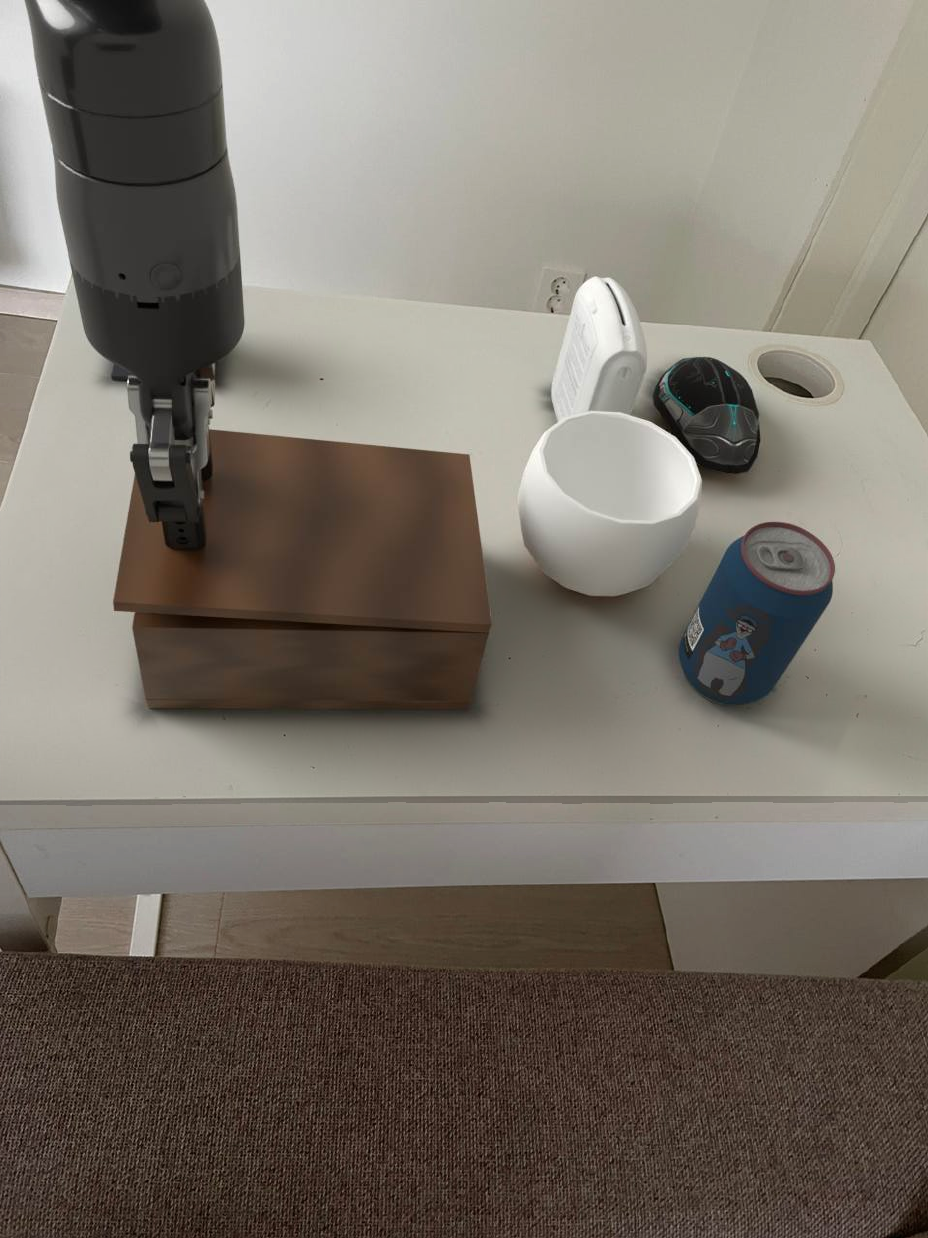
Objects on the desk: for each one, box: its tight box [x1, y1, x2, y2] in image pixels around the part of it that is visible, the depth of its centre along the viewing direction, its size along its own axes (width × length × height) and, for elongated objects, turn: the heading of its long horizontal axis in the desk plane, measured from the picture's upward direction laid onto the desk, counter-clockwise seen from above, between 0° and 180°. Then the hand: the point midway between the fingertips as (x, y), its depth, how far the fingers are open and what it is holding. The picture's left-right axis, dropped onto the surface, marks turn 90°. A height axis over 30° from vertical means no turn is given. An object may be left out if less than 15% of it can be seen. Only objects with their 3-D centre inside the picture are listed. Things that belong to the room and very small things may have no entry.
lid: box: [112, 428, 493, 634], centre depth 58 cm, size 21×14×5 cm
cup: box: [516, 411, 703, 597], centre depth 70 cm, size 12×12×10 cm
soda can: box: [678, 521, 836, 706], centre depth 65 cm, size 7×7×12 cm
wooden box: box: [131, 612, 490, 711], centre depth 64 cm, size 20×14×8 cm
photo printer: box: [550, 275, 648, 423], centre depth 79 cm, size 10×4×12 cm, turn 8°
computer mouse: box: [652, 356, 762, 475], centre depth 84 cm, size 9×17×6 cm, turn 1°
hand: (190, 508), depth 58 cm, fingers closed on lid, 5 cm apart
